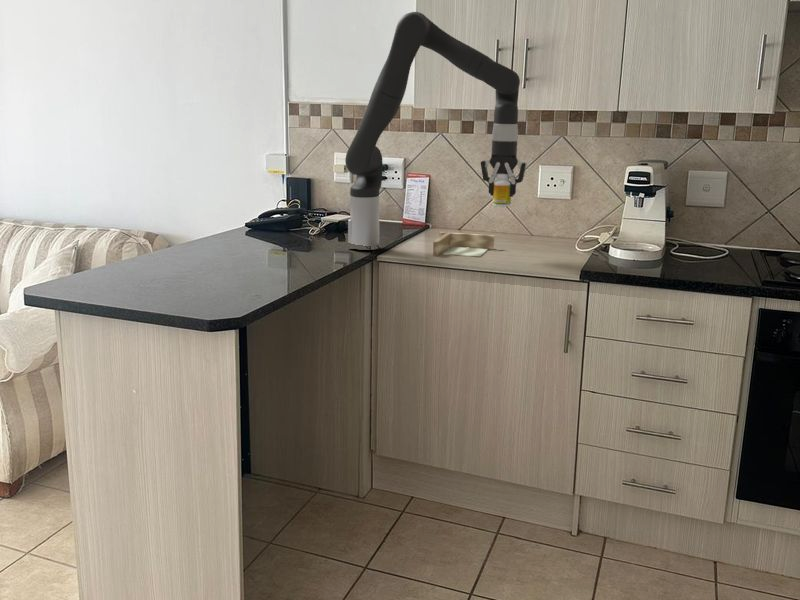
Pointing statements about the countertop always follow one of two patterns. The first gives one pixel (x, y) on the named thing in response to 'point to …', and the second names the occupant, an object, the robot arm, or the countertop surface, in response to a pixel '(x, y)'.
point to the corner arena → (462, 244)
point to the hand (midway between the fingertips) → (502, 195)
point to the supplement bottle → (502, 190)
